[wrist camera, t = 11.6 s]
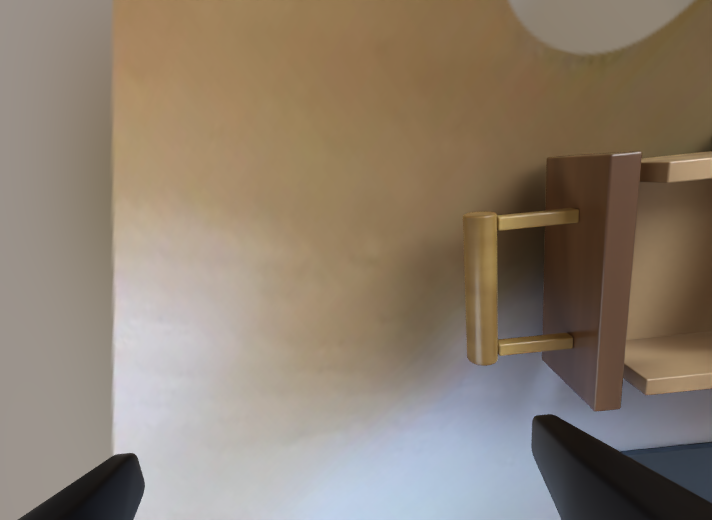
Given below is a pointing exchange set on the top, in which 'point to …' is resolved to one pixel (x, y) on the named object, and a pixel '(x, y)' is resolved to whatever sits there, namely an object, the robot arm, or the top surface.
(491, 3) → the top surface
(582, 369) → the drawer
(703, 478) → the mat
